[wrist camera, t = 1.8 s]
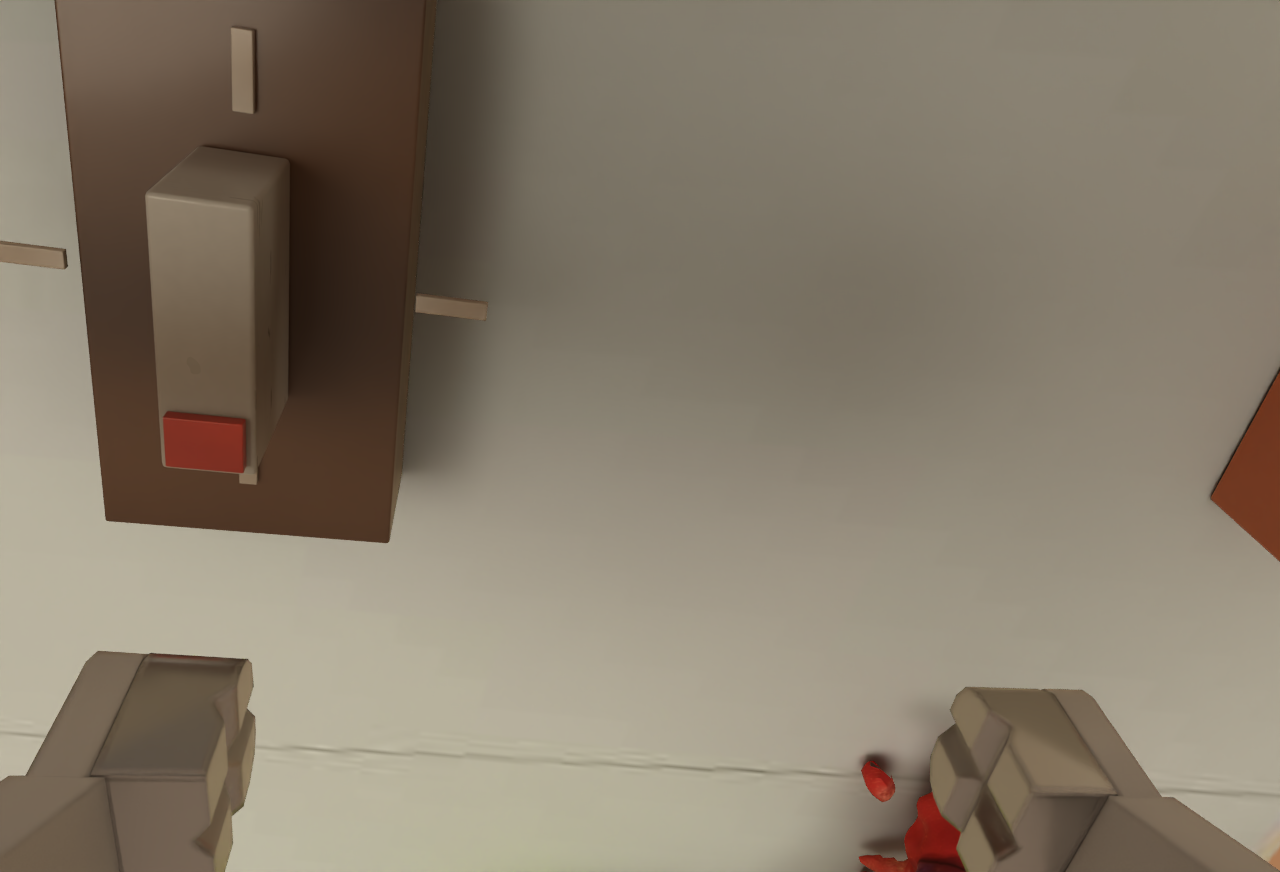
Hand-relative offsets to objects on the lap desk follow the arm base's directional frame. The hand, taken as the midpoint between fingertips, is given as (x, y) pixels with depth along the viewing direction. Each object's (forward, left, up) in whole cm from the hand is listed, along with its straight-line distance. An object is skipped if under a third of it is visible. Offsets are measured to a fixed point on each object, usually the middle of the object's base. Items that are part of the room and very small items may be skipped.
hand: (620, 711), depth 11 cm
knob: (-2, -6, -10) cm, 12 cm away
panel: (-2, -6, -14) cm, 15 cm away
